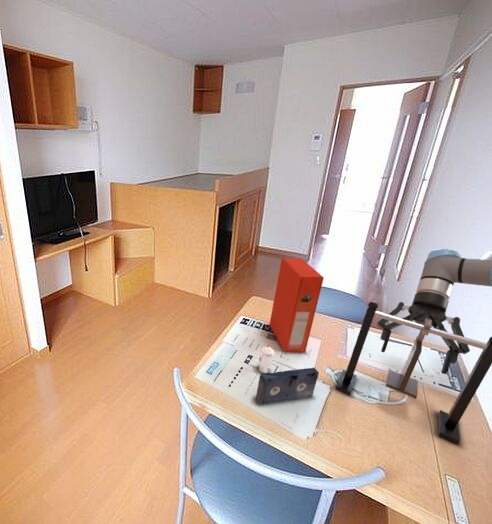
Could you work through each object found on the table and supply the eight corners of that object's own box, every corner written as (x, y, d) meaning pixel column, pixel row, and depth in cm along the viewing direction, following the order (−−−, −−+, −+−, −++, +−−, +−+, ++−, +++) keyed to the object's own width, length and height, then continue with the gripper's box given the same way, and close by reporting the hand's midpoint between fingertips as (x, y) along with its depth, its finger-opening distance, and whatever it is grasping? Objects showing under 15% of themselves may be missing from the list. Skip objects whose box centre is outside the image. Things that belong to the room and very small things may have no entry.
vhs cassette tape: (307, 391, 99) (314, 366, 95) (313, 398, 96) (320, 373, 92) (254, 397, 96) (259, 372, 92) (258, 404, 94) (264, 379, 90)
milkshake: (259, 362, 111) (263, 339, 107) (272, 370, 107) (278, 347, 103) (252, 368, 108) (256, 345, 104) (266, 376, 105) (271, 353, 101)
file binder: (283, 351, 117) (300, 276, 104) (268, 326, 132) (281, 258, 120) (305, 352, 116) (324, 277, 104) (287, 326, 132) (302, 258, 120)
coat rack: (456, 421, 88) (507, 331, 76) (458, 445, 82) (514, 350, 69) (342, 373, 106) (368, 293, 94) (335, 389, 99) (363, 306, 87)
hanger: (416, 383, 91) (445, 321, 83) (415, 398, 86) (446, 334, 78) (388, 371, 96) (412, 312, 87) (385, 386, 90) (411, 323, 82)
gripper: (486, 315, 87) (468, 385, 82) (379, 288, 102) (359, 345, 98) (497, 306, 81) (479, 380, 77) (382, 279, 97) (361, 339, 92)
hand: (412, 361), depth 87 cm, fingers open, 13 cm apart
